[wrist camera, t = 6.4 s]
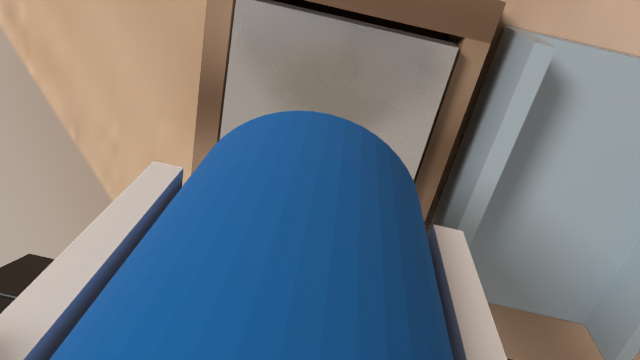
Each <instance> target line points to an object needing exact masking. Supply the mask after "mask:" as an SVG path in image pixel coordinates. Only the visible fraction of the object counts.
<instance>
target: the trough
mask: <svg viewBox="0 0 640 360" xmlns="http://www.w3.org/2000/svg"><path fill="white" fill-rule="evenodd" d="M433 224H434V225H438V226H443V227H447V228H452V229H456V230H460V231H463V233H464V236H465V239H466V242H467V245H468V248H469V250H470V253H471V256H472V259H473V262H474V265H475V268H476V271H477V274H478V277H479V279H480V282H481V285H482V288H483V291H484V294H485V297H486V300H487V303H491V304H496V305H500V306H505V307H509V308H514V309H518V310H523V311H527V312H531V313H536V314H540V315H545V316H549V317H554V318H558V319H563V320H567V321H572V322H576V323H580V324H584V325H585V327H586V328H587V330H588V332H589V334H590V335H591V337H592V339H593V341H594V342H595V344H596V346H597V348H598V349H599V351H600V353H601V355H602V356H603V358H604V360H633V359H634V358H635V356H636V355H637V354H638V352H639V351H640V57H639V56H634V55H630V54H626V53H622V52H617V51H613V50H609V49H604V48H600V47H596V46H592V45H587V44H583V43H579V42H575V41H570V40H566V39H562V38H557V37H553V36H549V35H545V34H540V33H536V32H532V31H528V30H523V29H519V28H515V27H510V26H506V25H505V28H504V30H503V33H502V36H501V38H500V41H499V44H498V46H497V49H496V52H495V54H494V57H493V60H492V62H491V65H490V67H489V70H488V73H487V75H486V78H485V81H484V83H483V86H482V89H481V91H480V94H479V97H478V99H477V102H476V104H475V107H474V110H473V112H472V115H471V118H470V120H469V123H468V126H467V128H466V131H465V134H464V136H463V139H462V141H461V144H460V147H459V149H458V152H457V155H456V157H455V160H454V163H453V165H452V168H451V171H450V173H449V176H448V178H447V181H446V184H445V186H444V189H443V192H442V194H441V197H440V200H439V202H438V205H437V207H436V210H435V213H434V215H433V218H432V221H431V223H430V226H429V229H428V231H427V238H429V235H430V232H431V230H432V227H433Z"/></svg>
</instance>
